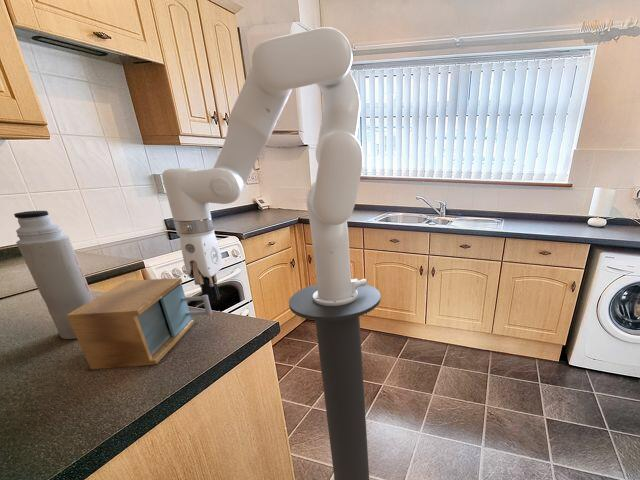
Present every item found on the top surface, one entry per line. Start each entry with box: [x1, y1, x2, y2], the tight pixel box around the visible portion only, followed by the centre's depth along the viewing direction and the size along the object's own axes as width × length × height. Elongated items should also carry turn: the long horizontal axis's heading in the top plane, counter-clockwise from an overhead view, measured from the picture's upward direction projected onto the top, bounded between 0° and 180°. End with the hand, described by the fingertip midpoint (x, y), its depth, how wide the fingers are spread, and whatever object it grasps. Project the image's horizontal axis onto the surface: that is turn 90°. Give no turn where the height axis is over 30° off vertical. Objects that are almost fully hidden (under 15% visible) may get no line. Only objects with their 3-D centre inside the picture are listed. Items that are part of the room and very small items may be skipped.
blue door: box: [160, 283, 213, 337], centre depth 77 cm, size 6×9×9 cm
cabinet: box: [67, 277, 195, 370], centre depth 72 cm, size 12×18×12 cm, turn 8°
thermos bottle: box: [13, 210, 95, 340], centre depth 75 cm, size 8×8×28 cm
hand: (212, 299), depth 84 cm, fingers closed
